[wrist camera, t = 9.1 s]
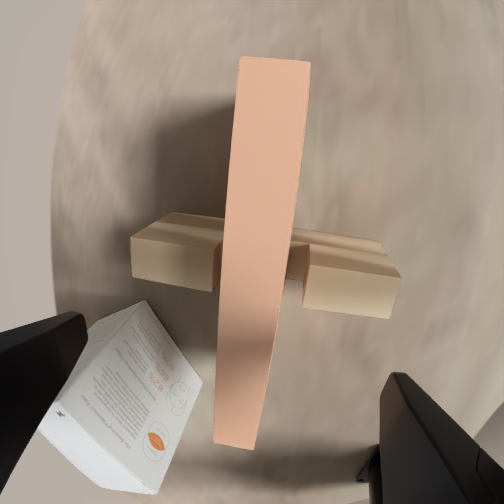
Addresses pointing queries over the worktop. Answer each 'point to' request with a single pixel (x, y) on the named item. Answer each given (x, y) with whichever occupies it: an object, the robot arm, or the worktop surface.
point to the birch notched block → (298, 268)
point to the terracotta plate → (257, 237)
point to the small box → (124, 403)
